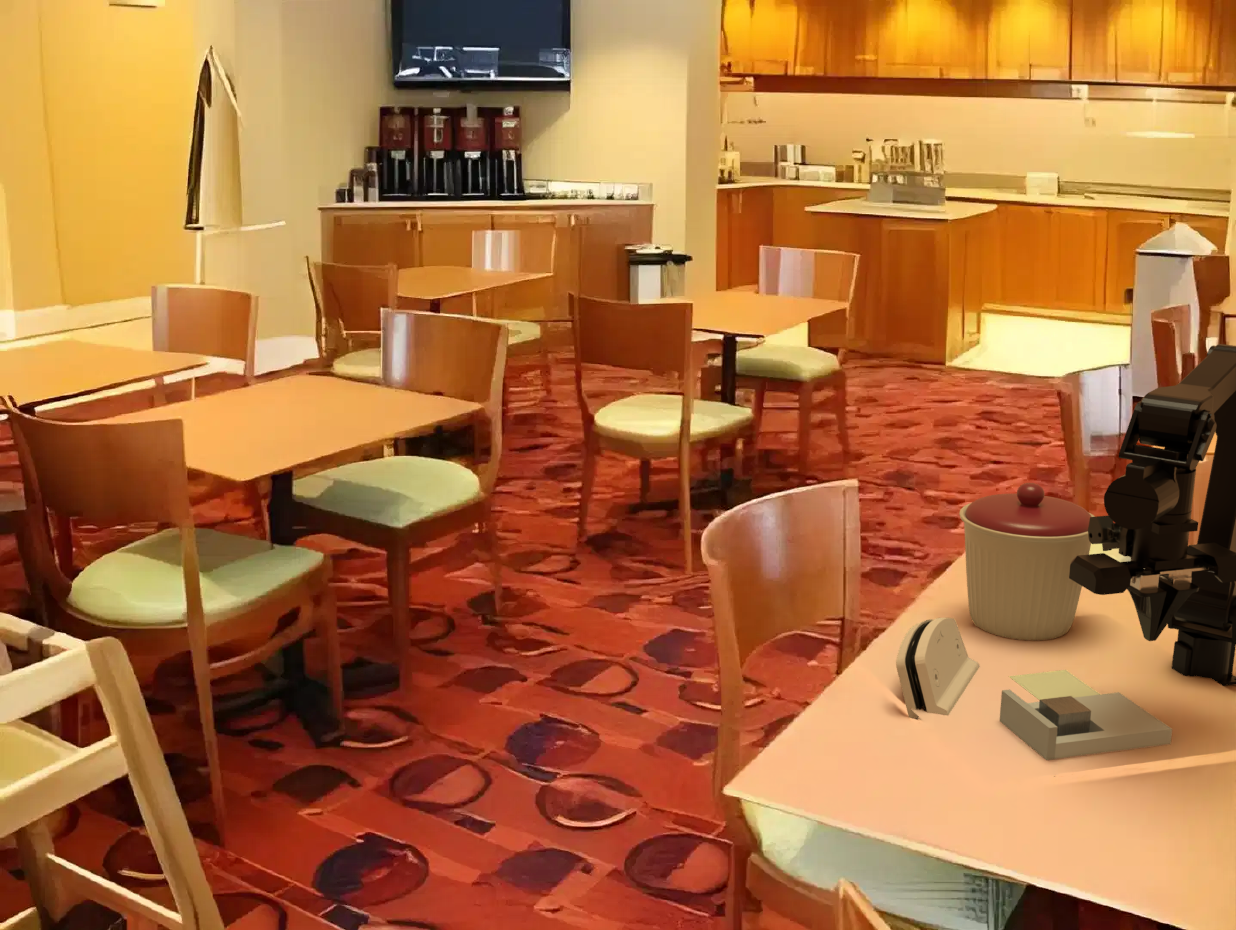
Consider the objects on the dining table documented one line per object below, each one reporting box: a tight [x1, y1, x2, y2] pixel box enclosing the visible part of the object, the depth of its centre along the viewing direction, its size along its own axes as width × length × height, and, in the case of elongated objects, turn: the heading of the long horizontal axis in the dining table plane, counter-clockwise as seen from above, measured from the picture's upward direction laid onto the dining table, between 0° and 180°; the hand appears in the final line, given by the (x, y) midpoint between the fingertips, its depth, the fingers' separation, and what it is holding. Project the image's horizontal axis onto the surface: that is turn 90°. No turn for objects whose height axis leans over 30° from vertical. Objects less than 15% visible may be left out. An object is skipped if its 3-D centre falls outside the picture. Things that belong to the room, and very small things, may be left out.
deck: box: [999, 688, 1173, 761], centre depth 153 cm, size 16×10×5 cm, turn 104°
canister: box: [958, 482, 1096, 642], centre depth 184 cm, size 18×18×21 cm
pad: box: [1008, 669, 1101, 701], centre depth 166 cm, size 8×8×1 cm
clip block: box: [1038, 696, 1091, 737], centre depth 153 cm, size 5×4×4 cm
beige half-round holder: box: [895, 617, 981, 719], centre depth 166 cm, size 17×5×10 cm, turn 152°
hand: (1149, 639), depth 153 cm, fingers closed
